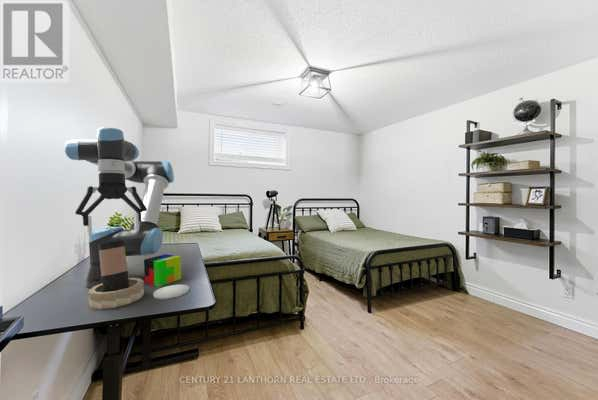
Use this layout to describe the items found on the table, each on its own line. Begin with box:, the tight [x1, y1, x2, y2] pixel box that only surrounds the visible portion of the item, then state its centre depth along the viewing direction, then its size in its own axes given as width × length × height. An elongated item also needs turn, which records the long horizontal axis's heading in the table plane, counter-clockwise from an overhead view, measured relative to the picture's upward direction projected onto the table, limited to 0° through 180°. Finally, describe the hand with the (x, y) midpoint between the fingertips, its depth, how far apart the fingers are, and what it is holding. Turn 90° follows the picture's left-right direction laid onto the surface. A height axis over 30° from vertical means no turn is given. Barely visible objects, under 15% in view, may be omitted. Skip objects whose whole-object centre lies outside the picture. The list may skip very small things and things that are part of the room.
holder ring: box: [88, 277, 145, 310], centre depth 90 cm, size 15×15×5 cm
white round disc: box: [152, 284, 190, 300], centre depth 95 cm, size 12×12×1 cm
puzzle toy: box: [143, 253, 182, 287], centre depth 109 cm, size 10×10×10 cm
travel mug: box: [98, 240, 129, 292], centre depth 91 cm, size 8×8×20 cm
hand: (114, 232), depth 89 cm, fingers open, 13 cm apart
